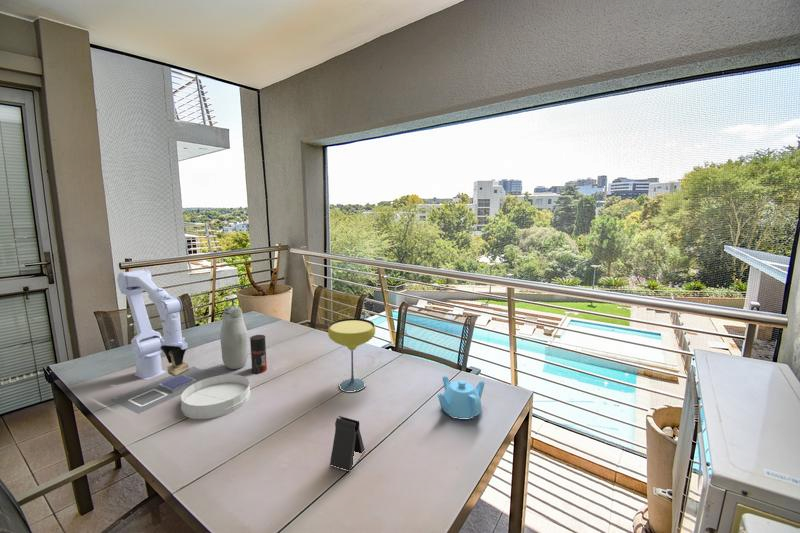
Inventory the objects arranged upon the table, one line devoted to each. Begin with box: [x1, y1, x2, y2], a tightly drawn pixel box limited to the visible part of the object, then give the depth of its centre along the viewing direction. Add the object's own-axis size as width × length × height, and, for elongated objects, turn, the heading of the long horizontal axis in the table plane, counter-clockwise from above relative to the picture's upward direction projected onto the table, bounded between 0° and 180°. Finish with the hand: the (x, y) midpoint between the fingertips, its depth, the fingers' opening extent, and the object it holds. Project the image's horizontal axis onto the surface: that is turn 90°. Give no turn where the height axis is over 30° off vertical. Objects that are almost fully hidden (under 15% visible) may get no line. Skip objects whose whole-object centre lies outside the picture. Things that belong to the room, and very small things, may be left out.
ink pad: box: [159, 375, 196, 393], centre depth 133 cm, size 9×9×2 cm
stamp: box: [166, 352, 190, 376], centre depth 132 cm, size 5×5×9 cm
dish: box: [180, 374, 251, 420], centre depth 123 cm, size 22×22×5 cm
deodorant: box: [249, 334, 268, 374], centre depth 146 cm, size 6×6×15 cm
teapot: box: [437, 375, 486, 418], centre depth 119 cm, size 15×15×11 cm
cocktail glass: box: [327, 318, 376, 391], centre depth 133 cm, size 18×18×25 cm
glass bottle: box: [219, 305, 249, 370], centre depth 148 cm, size 10×10×28 cm
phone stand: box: [329, 415, 366, 470], centre depth 95 cm, size 9×6×12 cm, turn 158°
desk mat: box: [111, 366, 220, 414], centre depth 132 cm, size 18×30×1 cm, turn 153°
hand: (175, 363), depth 132 cm, fingers closed on stamp, 4 cm apart
